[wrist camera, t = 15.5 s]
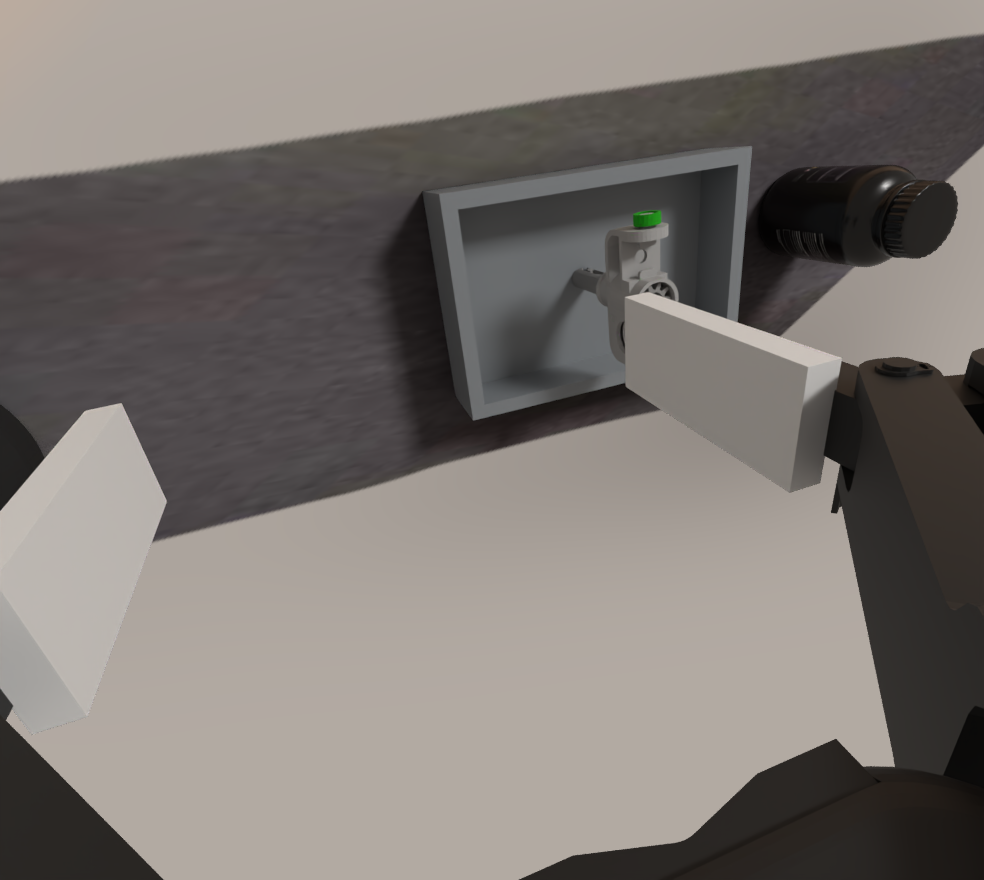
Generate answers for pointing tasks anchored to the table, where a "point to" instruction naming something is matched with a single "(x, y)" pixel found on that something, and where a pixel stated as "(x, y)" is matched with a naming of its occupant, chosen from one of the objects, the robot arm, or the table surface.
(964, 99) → the table surface
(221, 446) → the table surface
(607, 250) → the mechanical component
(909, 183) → the supplement bottle
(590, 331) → the bin
